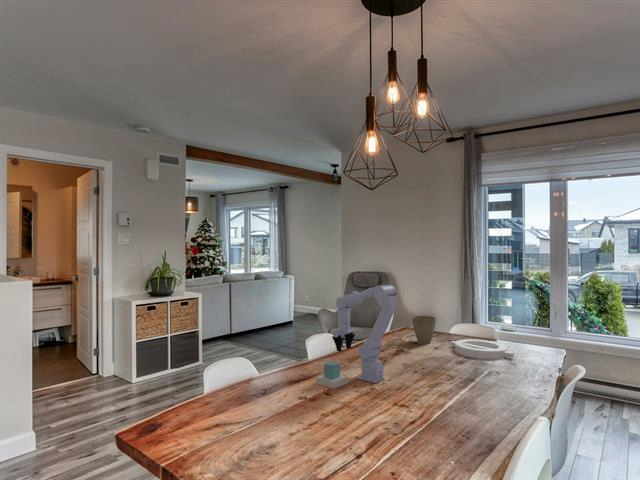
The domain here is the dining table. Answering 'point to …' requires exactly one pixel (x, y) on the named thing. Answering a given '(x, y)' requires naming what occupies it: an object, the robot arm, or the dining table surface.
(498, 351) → the white circle with bar
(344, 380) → the plinth
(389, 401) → the dining table surface
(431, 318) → the plant pot
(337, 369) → the teal block
